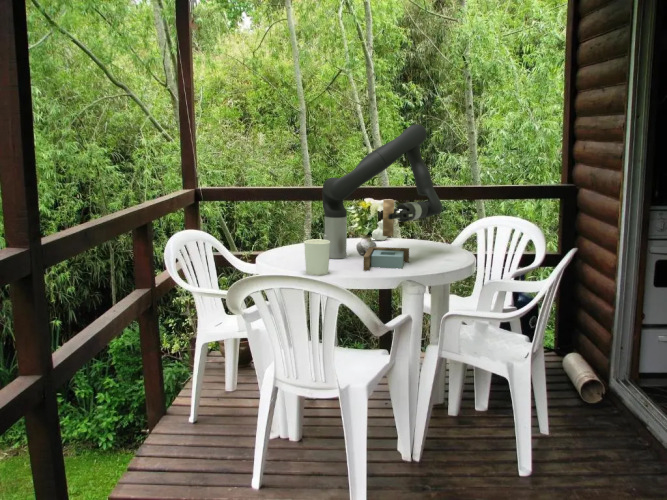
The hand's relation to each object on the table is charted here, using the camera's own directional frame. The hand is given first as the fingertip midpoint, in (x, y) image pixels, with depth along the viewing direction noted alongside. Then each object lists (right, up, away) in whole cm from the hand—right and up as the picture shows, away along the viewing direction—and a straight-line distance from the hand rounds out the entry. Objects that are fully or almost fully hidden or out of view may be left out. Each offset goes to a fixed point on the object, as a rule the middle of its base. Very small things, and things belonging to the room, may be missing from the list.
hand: (384, 216), depth 256 cm
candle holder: (-26, -22, -9) cm, 35 cm away
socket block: (+2, -19, +6) cm, 20 cm away
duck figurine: (+3, -9, +63) cm, 63 cm away
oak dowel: (+2, -8, +4) cm, 8 cm away
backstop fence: (+1, -19, +4) cm, 20 cm away
